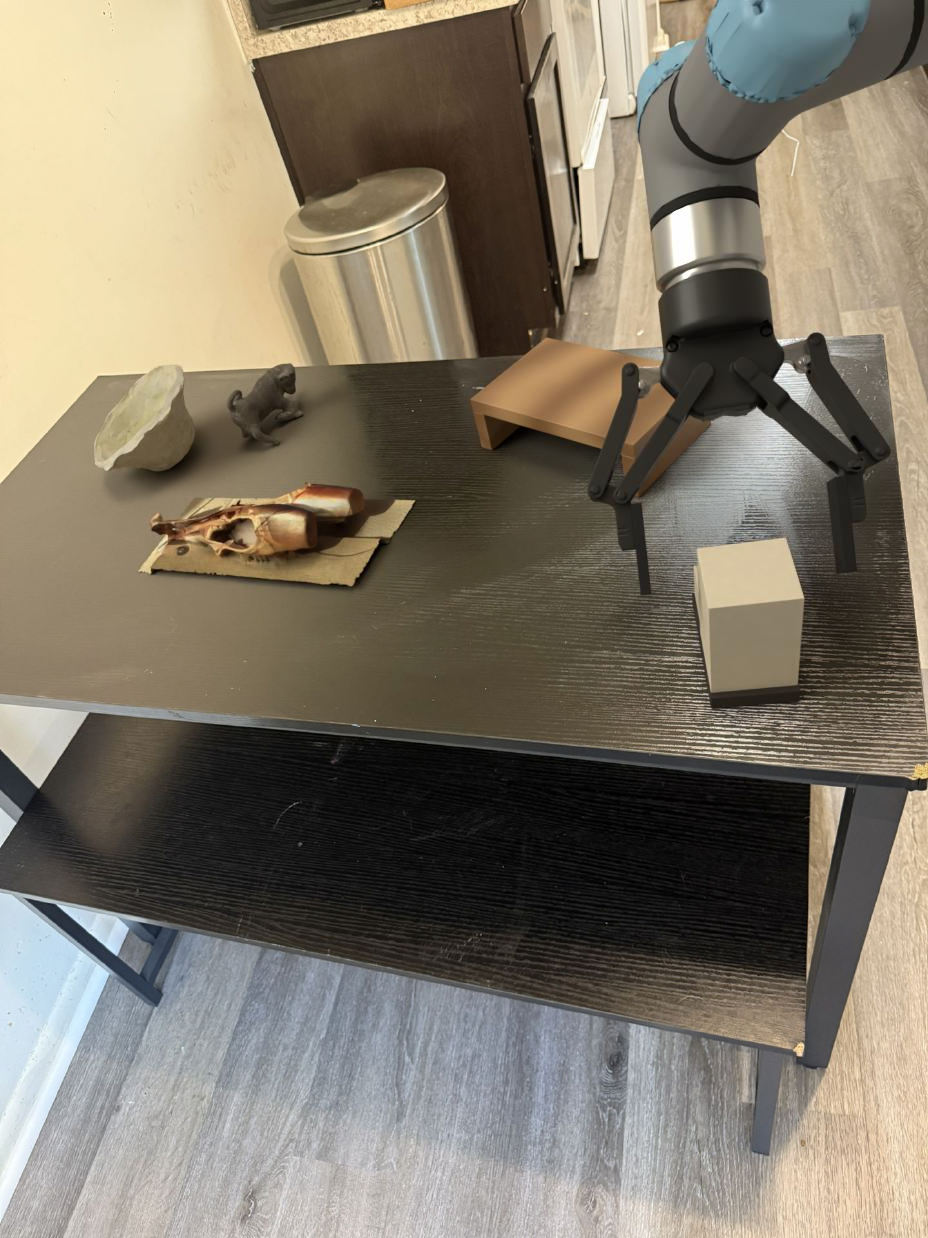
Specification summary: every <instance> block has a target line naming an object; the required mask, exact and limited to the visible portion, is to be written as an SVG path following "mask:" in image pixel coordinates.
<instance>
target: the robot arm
mask: <svg viewBox="0 0 928 1238" xmlns="http://www.w3.org/2000/svg"><path fill="white" fill-rule="evenodd" d="M925 65H928V0H716V1H715V3H714V6H713V7H712V10H711V12H710V15H709V17H708V19H707V21H706V23H705V25H704V27H703V28H702V30H701V32H700V34H699V35H698V38H697V39H692V40H686V41H684V42H681V43H678V44H675V45H674V46H672V47H670V48H668V49H667V50H665V51H663V53H662V54H661V58H660V59H657V60H654V61H652V62H650V63H649V64H648V65H647V67H646V68H645V69H644V71H643V73H642V74H641V76H640V79H639V80H638V84H637V88H636V89H637V90H636V106H637V107H636V109H637V119H636V134H637V141H638V144H639V149H640V154H641V163H642V171H643V179H644V187H645V188H644V189H645V196H646V203H647V213H648V223H649V230H650V241H651V250H652V251H651V253H652V261H653V270H654V278H655V279H654V280H655V287H656V290H657V292H659V293H660V294H661V295H660V297H659V298H658V301H657V306H658V315H659V325H660V334H661V343H662V354H663V357H662V361H661V362H662V363H661V365H660V366H648V367H638V366H637V365H636V364H635V363H631V362H630V363H627V364H625V365H624V366H623V368H622V378H621V398H620V400H619V403H618V406H617V408H616V411H615V414H614V417H613V419H612V422H611V425H610V427H609V430H608V433H607V435H606V438H605V441H604V444H603V446H602V449H600V452H599V454H598V458H597V460H596V462H595V466H594V468H593V470H592V474H591V476H590V479H589V482H588V484H587V488H586V492H587V495H588V498H589V499H590V501H592V502H594V503H602V504H604V505H605V504H606V505H609V506H611V507H612V508H613V510H614V515H615V524H616V526H615V527H616V535H617V542H618V546H619V547H620V548H619V549H620V550H621V551H622V552H627V551H628V552H629V551H634V550H635V557H636V566H637V574H638V584H639V593H640V596H650V595H652V587H651V577H650V565H649V558H648V548H647V540H646V532H645V530H646V529H645V521H644V511H643V504H642V503H643V502H633V503H632V501H633V499H634V498H635V497H636V496H635V495H636V493H637V492H638V490H639V489H640V487H641V486H642V484H643V483H644V481H645V480H646V478H647V477H648V476H649V474H650V473H651V471H652V470H653V468H654V467H655V465H656V464H657V462H658V461H659V459H660V458H661V456H662V455H663V453H664V452H665V450H666V449H667V447H668V446H669V445H670V443H671V442H672V440H673V439H674V437H675V436H676V434H677V433H678V432H679V430H680V429H681V428H682V426H683V425H684V423H685V422H686V420H687V419H688V417H689V416H692V417H693V418H696V419H699V420H702V422H704V421H711V422H712V421H714V420H717V419H719V418H721V417H732V418H739V417H744V416H745V417H746V416H748V414H749V413H751V412H753V411H755V410H756V408H757V409H758V410H759V411H761V413H762V414H764V415H765V416H766V417H768V418H770V419H772V420H774V421H775V422H776V423H777V424H778V425H779V426H781V428H783V429H784V430H785V431H786V432H787V433H788V434H790V436H792V437H793V438H794V439H795V440H797V441H798V442H799V443H800V444H801V445H802V446H803V447H805V448H806V449H807V450H808V451H809V452H810V453H812V455H814V456H815V457H816V458H817V459H818V460H819V461H821V462H822V463H823V464H824V465H825V466H826V467H828V469H830V470H831V471H832V472H834V474H836V475H837V476H834V477H832V478H831V479H830V480H828V481H826V482H825V483H826V491H827V501H828V510H829V511H828V512H829V519H830V528H831V537H832V546H833V555H834V564H835V565H834V566H835V574H836V575H839V574H849V573H856V572H858V566H857V565H858V564H857V556H856V548H855V537H854V529H853V524H858V523H862V522H865V520H866V516H867V513H868V511H867V504H866V503H867V502H866V493H865V485H864V474H865V473H866V471H867V470H868V469H869V468H872V467H874V466H876V465H878V464H880V463H882V462H883V461H885V460H887V459H888V458H889V457H890V455H891V454H892V453H891V451H892V449H891V447H890V445H889V443H888V442H887V441H886V439H885V437H884V436H883V435H882V434H881V432H880V430H879V429H878V427H876V425H875V423H874V422H873V421H872V419H871V418H870V416H869V415H868V414H867V412H866V411H865V409H864V407H863V406H862V405H861V403H860V402H859V401H858V399H857V397H856V396H855V395H854V394H853V392H852V391H851V389H850V388H849V386H848V385H847V383H846V382H845V381H844V379H843V378H842V376H841V375H840V373H839V372H838V371H837V368H835V366H834V365H833V364H832V362H831V358H830V353H829V349H828V345H827V341H826V340H827V339H826V337H825V335H824V334H823V333H822V332H817V331H816V332H815V331H814V332H811V333H810V334H809V335H807V337H806V338H805V339H803V340H799V341H796V342H792V343H789V344H785V345H781V344H780V343H779V341H778V340H777V337H776V335H775V330H774V322H773V313H772V305H771V303H772V302H771V294H770V293H771V292H770V284H769V278H768V276H766V275H765V274H764V273H763V271H764V270H765V269H766V266H767V258H766V256H767V255H766V248H765V240H764V233H763V224H762V223H763V222H762V216H761V205H760V204H761V203H760V195H759V185H758V173H757V165H756V163H757V159H758V158H759V156H760V155H761V154H762V153H764V151H766V150H767V149H768V147H769V146H771V144H772V143H773V141H775V139H776V138H777V137H778V136H779V134H780V133H782V131H783V130H784V128H786V126H787V125H788V124H789V123H790V122H791V121H792V120H793V119H795V118H796V117H797V116H799V115H801V114H802V113H804V112H807V111H809V110H812V109H815V108H818V107H820V106H823V105H825V104H828V103H830V102H833V101H835V100H838V99H840V98H843V97H845V96H848V95H851V94H853V93H856V92H859V91H862V90H864V89H866V88H869V87H872V86H874V85H877V84H879V83H881V82H885V81H887V80H889V79H891V78H893V77H895V76H898V75H901V74H903V73H906V72H908V71H912V70H914V69H917V68H919V67H922V66H925ZM783 364H787V365H790V366H791V367H792V368H793V369H794V372H796V373H798V374H800V375H804V374H805V378H806V379H807V381H808V383H809V385H810V387H811V389H812V390H813V391H814V393H815V394H816V396H817V397H818V398H819V400H820V401H821V403H822V404H823V405H824V408H826V410H827V412H828V413H829V414H830V416H831V417H832V419H833V420H834V421H835V423H836V424H837V426H838V427H839V428H840V430H841V431H842V433H843V434H844V436H845V437H846V438H847V440H848V441H849V443H850V444H851V446H852V447H853V449H854V450H855V451H856V453H855V452H854V450H852V449H851V448H850V447H848V446H847V445H846V444H845V443H844V442H842V440H840V439H839V438H838V437H837V436H836V435H835V434H834V433H833V432H831V431H830V430H829V429H828V428H827V427H825V426H824V425H823V424H822V423H820V422H819V420H817V419H816V418H815V417H813V416H812V415H811V413H809V412H808V411H807V410H806V409H804V407H802V406H801V405H800V404H799V403H798V402H796V401H795V400H794V399H793V398H792V397H791V396H790V394H789V393H788V391H786V389H785V388H783V387H782V386H781V385H779V383H777V382H776V381H775V378H776V376H777V375H778V373H779V371H780V369H781V368H782V366H783ZM656 383H660V384H661V385H662V387H663V388H664V389H665V390H666V391H667V392H668V393H669V394H670V395H671V396H672V397H673V398H674V399H675V401H674V402H673V404H672V405H671V407H670V408H669V410H668V411H667V413H666V415H665V417H664V418H663V420H662V421H661V423H660V424H659V426H658V427H657V429H656V430H655V432H654V433H653V435H652V436H651V438H650V439H649V441H648V442H647V444H646V445H645V447H644V448H643V450H642V451H641V453H640V454H639V456H638V457H637V459H636V460H635V462H634V463H633V465H632V466H631V467H630V469H629V470H628V472H627V473H626V475H625V476H624V475H623V478H622V479H621V481H620V483H619V484H618V485H617V486H615V485H611V481H612V478H613V475H614V473H615V470H616V467H617V465H618V462H619V459H620V456H621V451H622V449H623V446H624V443H625V441H626V438H627V435H628V432H629V430H630V427H631V424H632V422H633V419H634V416H635V413H636V410H637V406H638V399H642V398H645V397H647V396H648V395H649V393H650V389H651V387H652V386H653V385H654V384H656Z"/></svg>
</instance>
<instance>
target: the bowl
mask: <svg viewBox="0 0 928 1238" xmlns="http://www.w3.org/2000/svg"><path fill="white" fill-rule="evenodd" d="M184 389H185V378H184V369H183V367H182V366H181V365H180V364H162V365H158V366H156V367H154V368H153V369H151V370H150V371H148V372H147V373H144V375H142V376H141V377H140V378H139V379H137V380H136V381H135V383H134V385H133V386H131V387H130V388H129V391H128V393H125V395H124V396H123V397H122V398H121V399H120V401H119V402H118V403H117V404H116V405H115V406H114V408H113V409H112V410H110V411H109V413H108V414H107V415H106V418H105V420H104V422H103V424H102V426H101V428H100V431H99V432H98V433H97V435H96V437H95V439H94V444H93V446H94V447H93V458H94V464H95V466H96V467H97V468H99V469H102V470H103V469H104V471H106V472H111V471H112V470H117V469H118V470H119V469H122V468H136V469H145V470H150V471H153V472H163V471H167V470H170V469H171V468H173V467H174V466H176V465H177V464H178V463H180V461H182V460H183V458H184V457H185V456H186V455H187V454H188V453H189V452H190V449H191V447H192V444H193V443H194V440H195V435H196V432H195V424H194V420H193V418H192V415H190V413H189V410H188V408H187V406H186V402H185V394H184Z"/></svg>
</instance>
